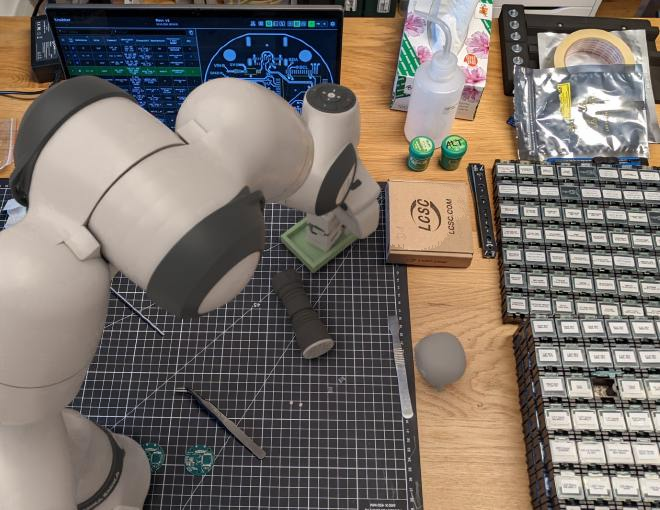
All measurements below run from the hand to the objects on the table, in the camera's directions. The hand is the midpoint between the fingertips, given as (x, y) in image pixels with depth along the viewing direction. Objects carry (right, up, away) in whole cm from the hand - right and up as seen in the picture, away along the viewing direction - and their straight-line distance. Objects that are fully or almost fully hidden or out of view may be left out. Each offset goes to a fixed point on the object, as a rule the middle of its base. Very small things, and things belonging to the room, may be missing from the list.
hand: (328, 214), depth 110 cm
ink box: (0, -3, +5) cm, 6 cm away
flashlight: (-5, -18, -3) cm, 19 cm away
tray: (0, -3, +6) cm, 6 cm away
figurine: (+17, -28, -8) cm, 33 cm away
